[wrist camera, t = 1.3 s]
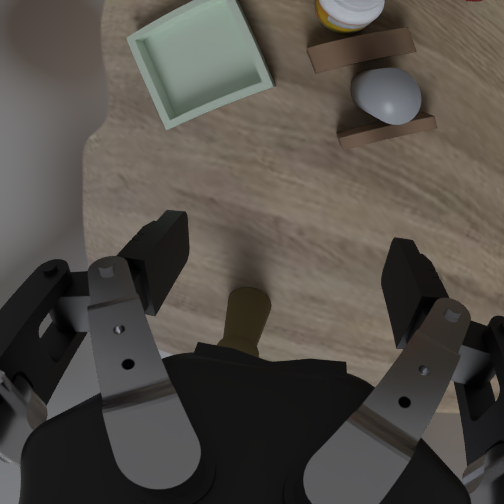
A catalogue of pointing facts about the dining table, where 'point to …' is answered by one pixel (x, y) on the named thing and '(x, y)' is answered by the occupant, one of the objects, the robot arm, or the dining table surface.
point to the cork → (245, 320)
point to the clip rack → (366, 50)
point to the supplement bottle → (347, 14)
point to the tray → (199, 59)
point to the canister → (387, 94)
